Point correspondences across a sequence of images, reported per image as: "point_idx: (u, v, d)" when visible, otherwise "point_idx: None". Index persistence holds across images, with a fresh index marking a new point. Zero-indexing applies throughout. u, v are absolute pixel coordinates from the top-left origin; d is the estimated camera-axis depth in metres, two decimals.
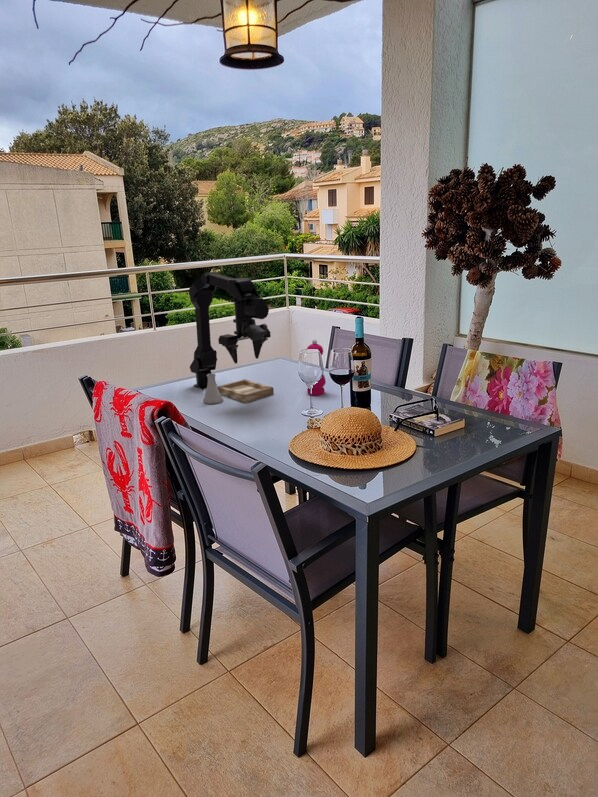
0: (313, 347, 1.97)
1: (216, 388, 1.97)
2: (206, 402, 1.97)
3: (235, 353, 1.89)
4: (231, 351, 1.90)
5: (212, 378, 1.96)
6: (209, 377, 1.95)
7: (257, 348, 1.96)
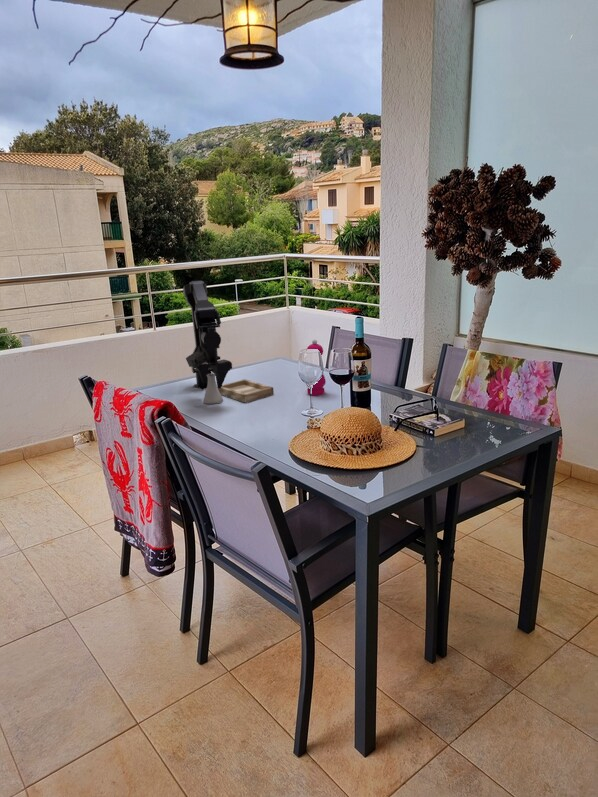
0: (313, 347, 1.97)
1: (216, 388, 1.97)
2: (206, 402, 1.97)
3: (199, 373, 2.00)
4: None
5: (212, 378, 1.96)
6: (209, 377, 1.95)
7: None
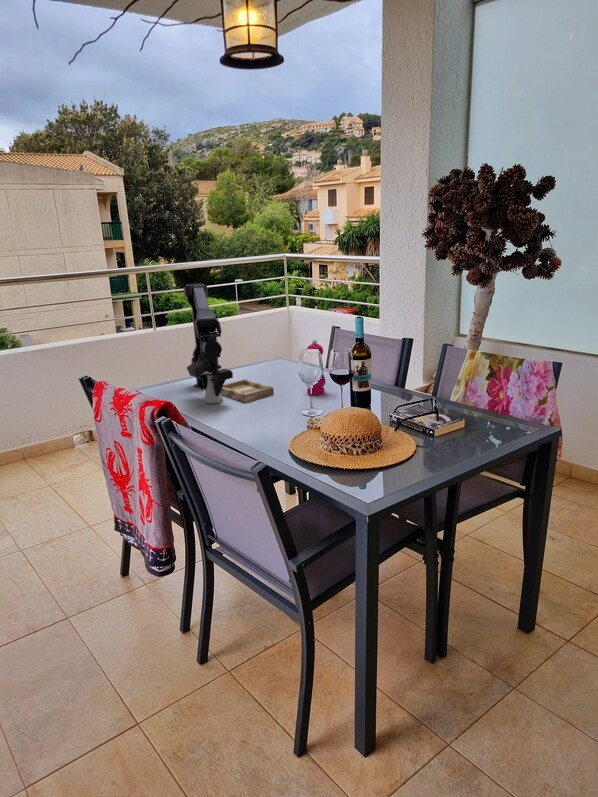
0: (313, 347, 1.97)
1: None
2: (206, 402, 1.97)
3: (203, 383, 1.99)
4: None
5: (212, 378, 1.96)
6: (209, 377, 1.95)
7: None
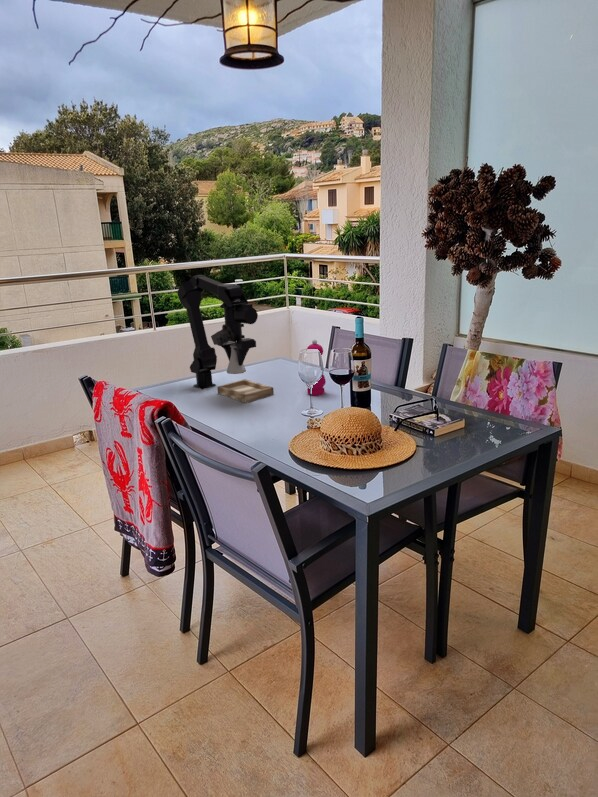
0: (313, 347, 1.97)
1: None
2: (229, 372, 1.99)
3: (226, 353, 2.02)
4: None
5: None
6: (232, 347, 1.98)
7: None
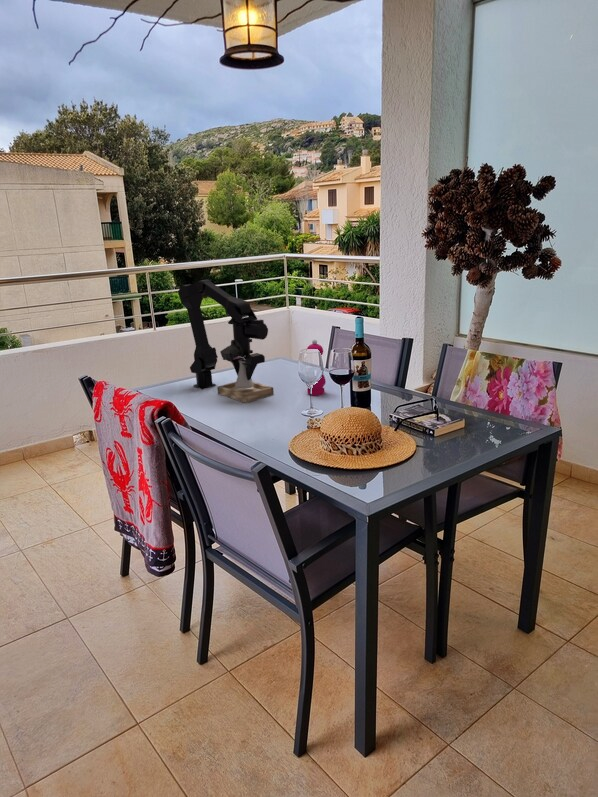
0: (313, 347, 1.97)
1: None
2: (238, 387, 2.03)
3: (234, 367, 2.05)
4: None
5: None
6: (241, 362, 2.01)
7: None
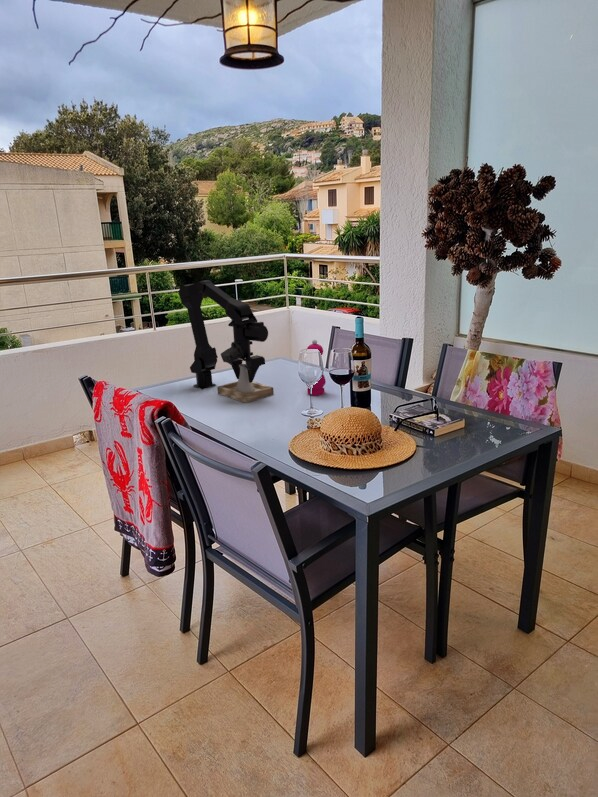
0: (313, 347, 1.97)
1: (248, 378, 2.04)
2: (238, 391, 2.03)
3: (233, 369, 2.06)
4: None
5: (244, 368, 2.02)
6: (241, 367, 2.02)
7: None
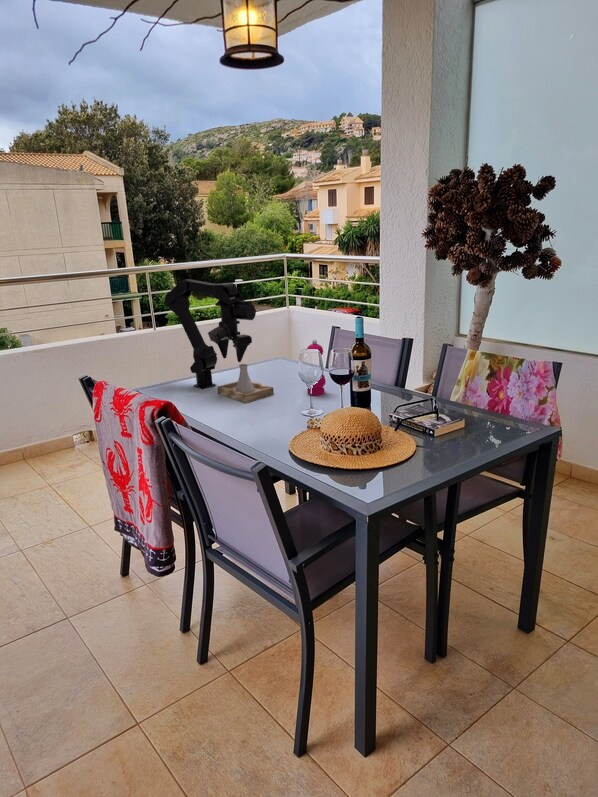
0: (313, 347, 1.97)
1: (248, 378, 2.04)
2: (238, 391, 2.03)
3: (220, 348, 2.10)
4: None
5: (244, 368, 2.02)
6: (241, 367, 2.02)
7: None
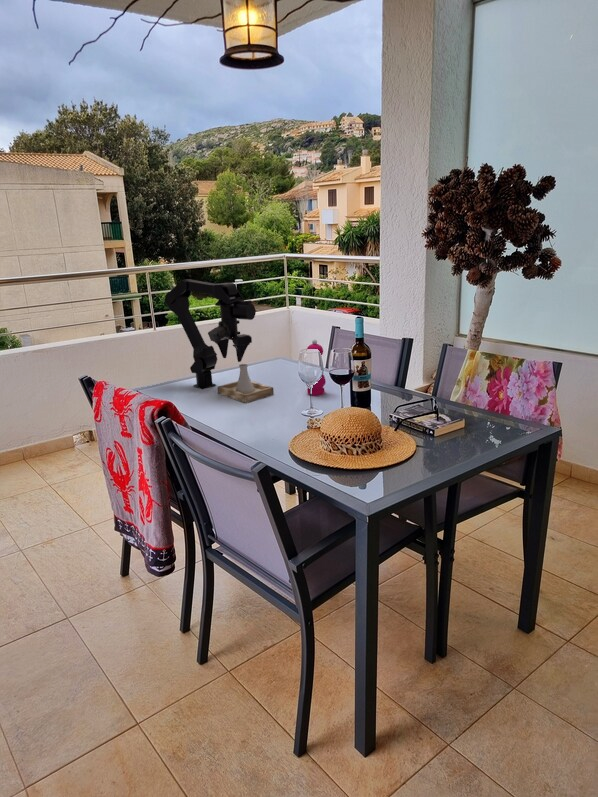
0: (313, 347, 1.97)
1: (248, 378, 2.04)
2: (238, 391, 2.03)
3: (220, 348, 2.10)
4: None
5: (244, 368, 2.02)
6: (241, 367, 2.02)
7: None
